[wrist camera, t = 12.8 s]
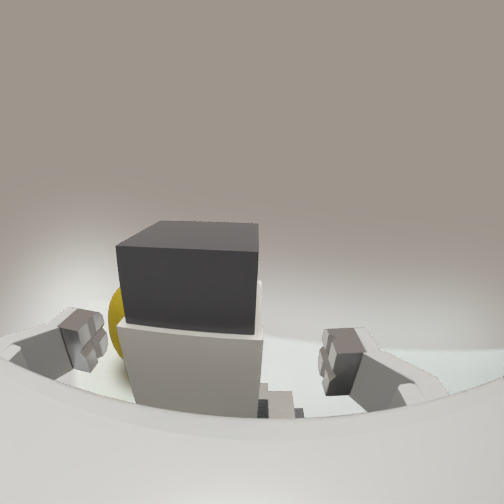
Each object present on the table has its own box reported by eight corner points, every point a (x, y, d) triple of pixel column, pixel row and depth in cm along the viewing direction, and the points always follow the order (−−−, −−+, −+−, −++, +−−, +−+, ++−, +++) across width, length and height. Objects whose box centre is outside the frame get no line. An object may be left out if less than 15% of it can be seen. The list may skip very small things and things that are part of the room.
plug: (250, 448, 12) (264, 222, 9) (248, 501, 9) (268, 255, 6) (185, 442, 12) (157, 219, 9) (172, 493, 9) (104, 247, 6)
